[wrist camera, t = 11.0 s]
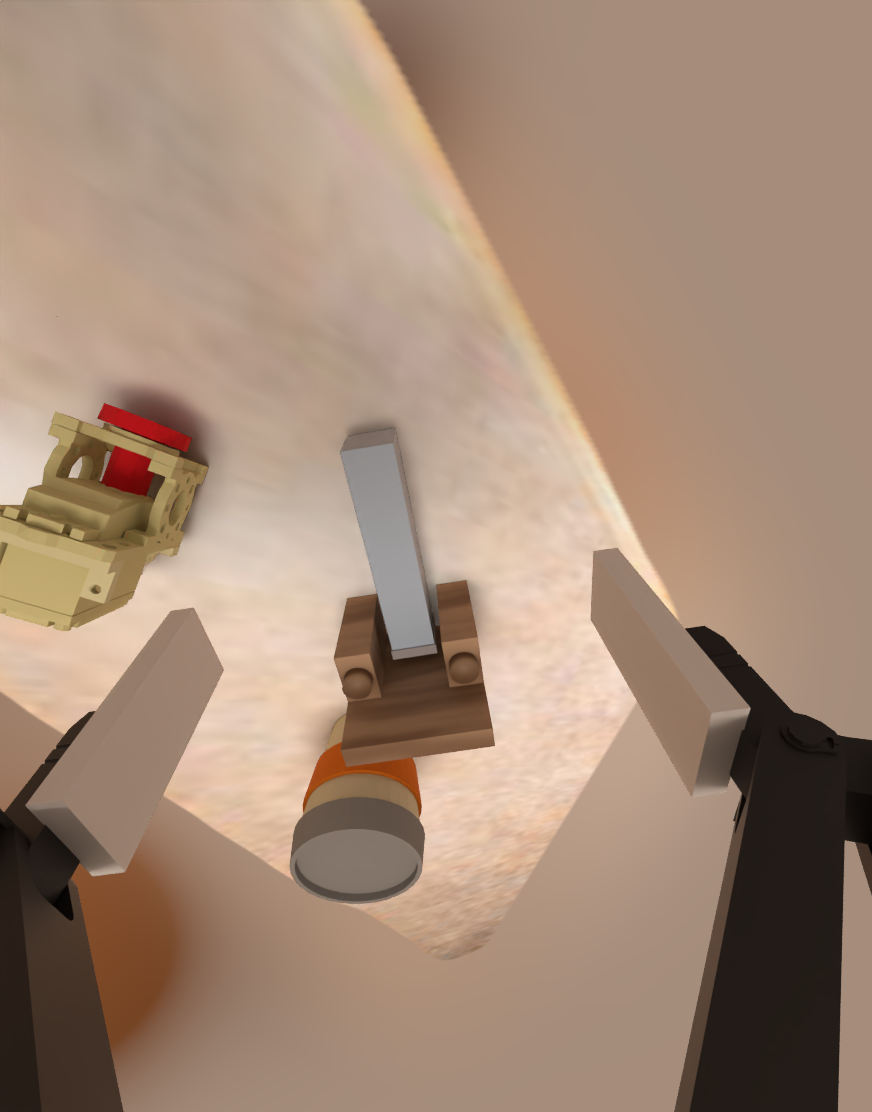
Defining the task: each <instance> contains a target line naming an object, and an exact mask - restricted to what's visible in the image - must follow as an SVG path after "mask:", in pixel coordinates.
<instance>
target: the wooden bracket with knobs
mask: <svg viewBox="0 0 872 1112" xmlns="http://www.w3.org/2000/svg"><path fill="white" fill-rule="evenodd" d="M436 586H437V598H438V609H439V621H440V626H435V627H436V641H437V653H434V654H428V655H422V656H415V657H409V658H402V659H396V660H393V657H392V653H391V643H390V640H389V636H388V634H387V632H386V628H385V624H384V620H383V616H382V612H381V608H380V604H379V601H378V597H377V594H375V595H368V596H362V597H355V598H348V599H347V602H346V607H345V611H344V616H343V620H342V624H341V629H340V633H339V638H338V642H337V647H336V651H335V655H334V661H335V664H336V667H337V670H338V673H339V676H340V679H341V682H342V685H343V687H342V690H343V692H344V694H345V695H346V697H347V700H348V707H347V713H346V719H345V725H344V731H343V738H342V744H341V753H342V756H343V759H344V761H345V764H346V767H350V766H357V765H364V764H371V763H378V762H385V761H392V760H399V759H406V758H413V757H420V756H428V755H435V754H442V753H449V752H456V751H463V750H470V749H477V748H484V747H491V746H495V743H494V735H493V728H492V723H491V718H490V712H489V707H488V702H487V697H486V691H485V686H484V680H483V673H482V666H481V658H480V651H479V644H478V637H477V632H476V627H475V622H474V617H473V612H472V606H471V601H470V596H469V591H468V586H467V581H459V582H453V583H446V584H440V585H436Z"/></svg>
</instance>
